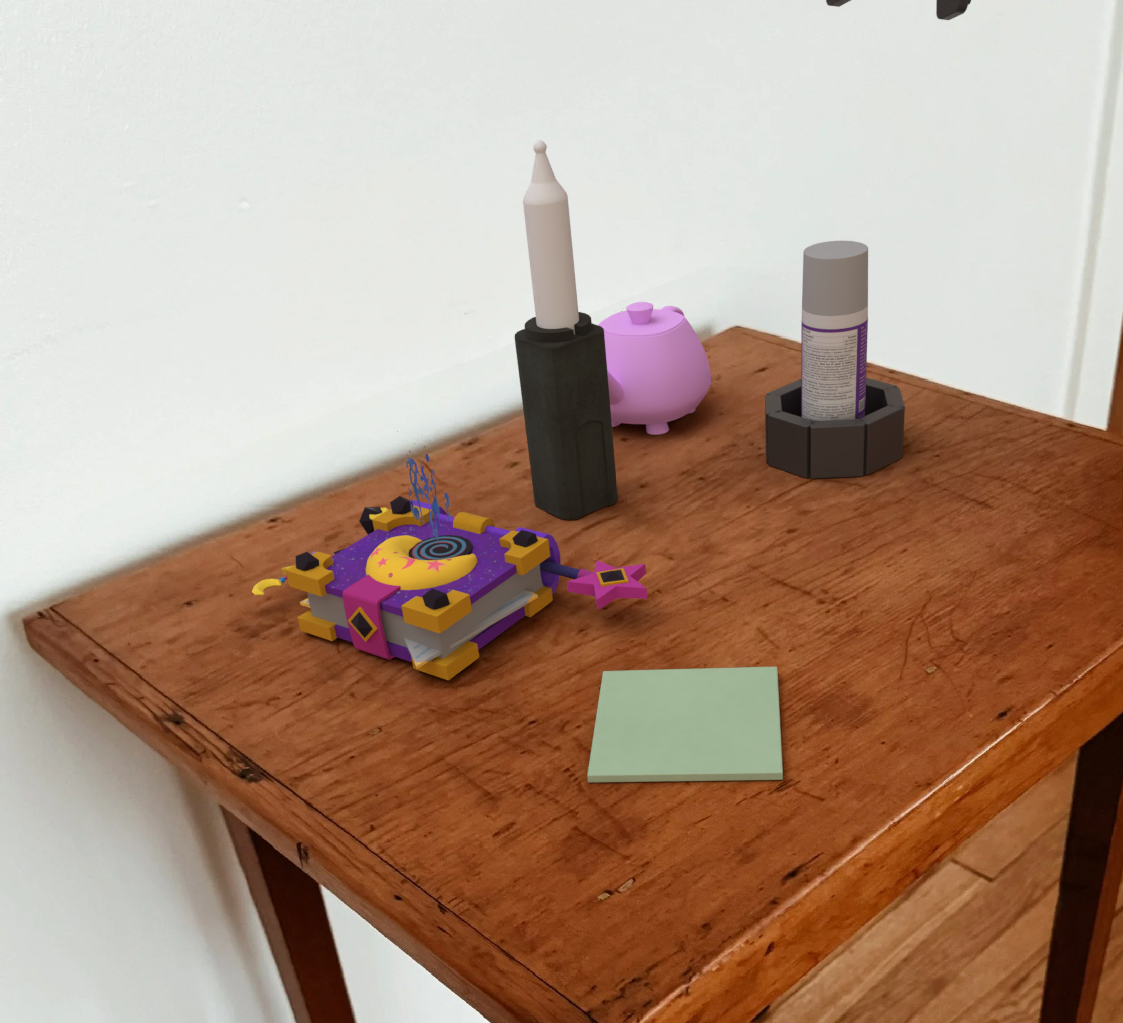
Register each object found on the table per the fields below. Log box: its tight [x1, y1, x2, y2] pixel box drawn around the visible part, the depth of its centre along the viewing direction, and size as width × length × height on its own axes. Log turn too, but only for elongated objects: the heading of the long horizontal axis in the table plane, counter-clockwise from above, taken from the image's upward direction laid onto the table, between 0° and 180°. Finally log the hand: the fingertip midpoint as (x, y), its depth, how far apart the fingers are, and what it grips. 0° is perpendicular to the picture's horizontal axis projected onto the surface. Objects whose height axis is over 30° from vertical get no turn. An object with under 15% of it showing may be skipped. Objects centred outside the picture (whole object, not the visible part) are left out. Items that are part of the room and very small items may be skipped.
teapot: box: [597, 301, 712, 436], centre depth 105 cm, size 10×15×9 cm
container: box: [800, 240, 869, 421], centre depth 95 cm, size 5×5×15 cm
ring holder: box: [764, 377, 906, 480], centre depth 98 cm, size 10×10×4 cm
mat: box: [586, 666, 784, 783], centre depth 71 cm, size 10×10×1 cm
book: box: [251, 430, 648, 681], centre depth 80 cm, size 14×25×12 cm, turn 54°
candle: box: [514, 139, 619, 521], centre depth 89 cm, size 5×5×25 cm
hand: (897, 9), depth 81 cm, fingers open, 8 cm apart
